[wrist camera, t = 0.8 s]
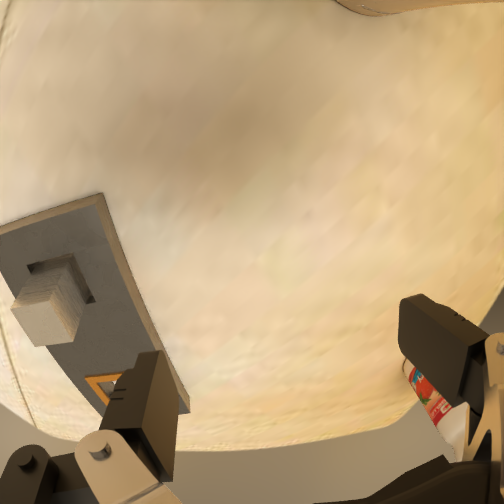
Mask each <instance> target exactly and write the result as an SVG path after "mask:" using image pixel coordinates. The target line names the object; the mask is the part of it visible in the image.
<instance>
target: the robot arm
mask: <svg viewBox="0 0 504 504" xmlns="http://www.w3.org/2000/svg"><path fill="white" fill-rule="evenodd" d="M336 1H338V2H339V3H340V4H342V5H343V6H345V7H347V8H349V9H350V10H352V11H355V12H358V13H360V14H364V15H369V16H383V15H389V14H397V13H401V12H404V11H410V10H417V9H423V8H430V7H438V6H446V5H456V4H468V3H487V2H504V0H336ZM398 344H399V347H400V350H401V352H402V354H403V355H404V356H405V357H406V358H407V359H408V360H409V361H410V362H411V363H412V364H413V365H414V366H415V368H416V369H417V370H418V371H419V372H420V373H421V374H422V375H423V376H424V377H425V378H426V379H427V380H428V382H429V383H430V384H431V385H432V386H433V387H434V388H435V389H436V390H437V391H438V392H439V393H440V395H441V396H442V397H443V398H444V399H445V400H446V401H447V402H448V403H449V404H450V406H451V407H452V408H455V407H457V406H459V405H461V404H462V403H464V402H467V403H468V407H467V410H466V424H465V439H464V450H463V457H462V461H460V462H455V463H449V462H448V461H447V459H446V458H445V457H444V455H441V456H439V457H437V458H435V459H433V460H431V461H429V462H427V463H425V464H422V465H420V466H418V467H416V468H414V469H412V470H410V471H407V472H405V473H404V474H403V475H401V476H400V477H398V478H397V479H395V480H394V481H393V482H391V483H390V484H388V485H387V486H385V487H384V488H382V489H381V490H379V491H377V492H376V493H374V494H373V495H371V496H369V497H367V498H363V499H358V500H348V501H339V502H327V503H314V504H504V333H496V334H493V335H491V336H490V335H489V334H487V333H486V332H484V331H483V330H482V329H480V328H479V327H477V326H476V325H474V324H473V323H472V322H470V321H469V320H466V319H465V318H464V317H463V316H461V315H458V313H457V312H455V311H454V310H452V309H451V308H450V307H447V306H444V305H441V304H438V303H435V302H434V301H432V300H431V299H430V298H428V297H427V296H425V295H424V294H417V295H414V296H410V297H407V298H404V299H402V300H401V302H400V306H399V328H398ZM113 390H114V392H112V395H111V397H110V401H109V403H108V405H107V408H106V411H105V413H104V416H103V419H102V422H101V425H100V427H99V430H98V431H95V432H92V433H90V434H88V435H86V436H85V437H83V438H82V439H81V440H80V441H79V443H78V444H77V446H76V448H75V452H74V453H70V454H65V455H60V456H55V457H50V456H49V454H48V453H47V452H46V450H45V449H44V448H43V447H41V446H39V445H27V446H23V447H21V448H19V449H18V450H16V451H15V452H14V453H13V454H12V455H11V457H10V458H9V460H8V462H7V465H6V467H5V469H4V471H3V474H2V476H1V478H0V504H182V502H181V501H179V499H178V498H177V497H176V496H175V495H174V494H173V493H172V492H171V491H170V490H169V489H168V488H167V487H166V486H165V485H164V484H163V483H162V482H173V470H174V457H175V445H176V434H177V423H178V413H179V395H178V390H177V387H176V384H175V381H174V379H173V376H172V373H171V370H170V368H169V365H168V362H167V359H166V356H165V354H164V352H163V350H155V351H148V352H140V353H139V354H138V357H137V360H136V363H135V365H134V368H132V369H127V370H126V371H125V372H124V373H123V374H122V375H121V376H120V377H119V378H118V379H117V382H116V384H115V387H114V389H113Z"/></svg>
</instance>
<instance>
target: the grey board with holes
mask: <svg viewBox="0 0 504 504" xmlns="http://www.w3.org/2000/svg"><path fill="white" fill-rule="evenodd" d="M69 253H73V254H74V256H75V259H76V261H77V263H78V265H79V267H80V270H81V272H82V274H83V276H84V278H85V280H86V283H87V285H88V287H89V289H90V294H89V296H88V299H87V302H86V305H85V308H84V311H83V313H82V316H81V319H80V322H79V325H78V328H77V332H76V335H75V338H74V341H73V342H68V343H61V344H53V345H46V347H47V349H48V350H49V352H50V353H51V355H52V356H53V357H54V359H55V360H56V361H57V363H58V364H59V365H60V367H61V368H62V369H63V371H64V372H65V373H66V375H67V376H68V377H69V378H70V380H71V381H72V382H73V384H74V385H75V386H76V387H77V388H78V390H79V391H80V392H81V393H82V395H83V396H84V397H85V398H86V399H87V400H88V402H89V403H90V404H91V405H92V406H93V407H94V408H95V410H96V411H97V412H98V413H99V414H100V415H101V416H102V417H103V416H104V413H105V411H106V408H107V405H108V403H109V401H110V397H111V395H112V392H114V390H113V389H114V387H115V385H114V384H113V382H112V381H116V380H117V379H118V378H119V377H120V376H121V375H122V374H123V373H124V372H125V371H126V370H127V369H132V368H134V365H135V363H136V360H137V357H138V354H139V353H140V352H148V351H155V350H163V352H164V354H165V356H166V359H167V362H168V365H169V368H170V370H171V373H172V376H173V379H174V381H175V384H176V387H177V390H178V395H179V413H178V415H180V414H187V413H190V400H189V396H188V394H187V392H186V390H185V388H184V386H183V385H182V383H181V381H180V379H179V377H178V375H177V373H176V371H175V369H174V367H173V365H172V363H171V361H170V359H169V357H168V355H167V353H166V351H165V349H164V346H163V344H162V342H161V340H160V338H159V336H158V334H157V332H156V329H155V327H154V325H153V323H152V321H151V318H150V316H149V314H148V312H147V309H146V307H145V305H144V302H143V300H142V298H141V295H140V293H139V290H138V288H137V286H136V283H135V281H134V278H133V276H132V273H131V271H130V268H129V266H128V263H127V261H126V258H125V255H124V253H123V250H122V247H121V245H120V242H119V239H118V236H117V234H116V231H115V228H114V225H113V222H112V219H111V216H110V213H109V210H108V207H107V204H106V201H105V198H104V195H103V193H100V194H96V195H93V196H90V197H86V198H83V199H80V200H76V201H73V202H70V203H67V204H64V205H60V206H57V207H54V208H51V209H48V210H45V211H42V212H39V213H37V214H34V215H31V216H28V217H25V218H22V219H20V220H17V221H14V222H11V223H9V224H6V225H3V226H1V227H0V271H1V273H2V275H3V277H4V279H5V281H6V283H7V285H8V286H9V288H10V290H11V292H12V294H13V295H14V297H15V299H16V298H17V296H18V294H19V293H20V291H21V289H22V288H23V286H24V284H25V283H26V281H27V280H28V278H29V276H30V275H31V273H32V272H33V270H34V268H35V267H36V265H37V264H38V262H39V261H43V260H46V259H50V258H54V257H57V256H61V255H65V254H69Z"/></svg>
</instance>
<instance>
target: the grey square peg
mask: <svg viewBox="0 0 504 504" xmlns="http://www.w3.org/2000/svg"><path fill="white" fill-rule="evenodd" d="M89 294H90V289H89V287H88V285H87V283H86V280H85V278H84V276H83V274H82V272H81V270H80V267H79V265H78V263H77V261H76V259H75V256H74V254H73V253H69V254H65V255H61V256H57V257H54V258H50V259H46V260H43V261H39V262H38V264H37V265H36V267H35V268H34V270H33V272H32V273H31V275H30V276H29V278H28V280H27V281H26V283H25V284H24V286H23V288H22V289H21V291H20V293H19V294H18V296H17V298H16V299H15V301H14V303H13V305H12V306H11V308H10V309H11V311H12V313H13V314H14V316H15V317H16V319H17V321H18V322H19V324H20V325H21V327H22V328H23V330H24V331H25V333H26V334H27V336H28V337H29V339H30V340H31V342H32V343H33V345H34V346H35V347H38V346H46V345H53V344H61V343H68V342H73V341H74V338H75V335H76V332H77V328H78V325H79V322H80V319H81V316H82V313H83V311H84V308H85V305H86V302H87V299H88V296H89Z"/></svg>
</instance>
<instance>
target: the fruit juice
mask: <svg viewBox="0 0 504 504" xmlns="http://www.w3.org/2000/svg"><path fill="white" fill-rule="evenodd" d="M403 369H404V373H405V376H406V377H407V379H408V381H409V382H410V384H411V386H412V387H413V389H414V391H415V392H416V394H417V396H418V397H419V399H420V401H421V402H422V404H423V406H424V407H425V409H426V410H427V412H428V414H429V416H430V418H431V419H432V421H433V423H434V425H435V426H436V428H437V430H438V432H439V434H440V435H441V436H442V438H443V439H444V441H445V442H446V443H448V444H449V445H451V446H452V447H453V450H454V454H455V459H456V462H460V461H462V457H463V450H464V439H465V424H466V410H467V407H468V403H467V402H464V403H462V404H461V405H459V406H457V407H455V408H452V407H451V406H450V404H449V403H448V402H447V401H446V400H445V399H444V398H443V397H442V396H441V395H440V393H439V392H438V391H437V390H436V389H435V388H434V387H433V386H432V385H431V384H430V383H429V382H428V380H427V379H426V378H425V377H424V376H423V375H422V374H421V373H420V372H419V371H418V370H417V369H416V368H415V366H414V365H413V364H412V363H411V362H410V361H409V360H408V359H406V361H405V363H404V367H403Z"/></svg>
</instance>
